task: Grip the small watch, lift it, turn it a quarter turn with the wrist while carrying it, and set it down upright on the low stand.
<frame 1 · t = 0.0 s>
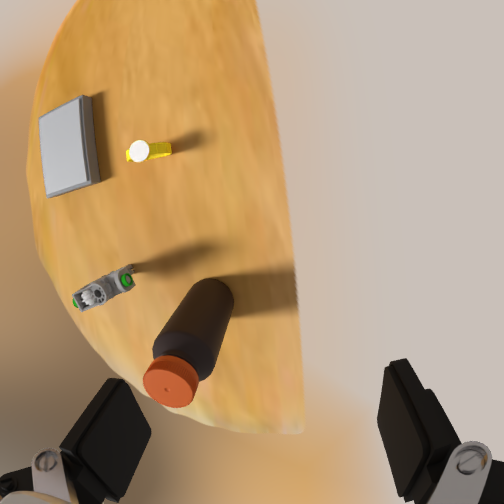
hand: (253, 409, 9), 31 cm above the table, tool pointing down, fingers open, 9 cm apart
mechanical component: (130, 268, 43), on the table
stand: (71, 147, 38), on the table
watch: (157, 153, 38), on the table
bottle: (211, 298, 43), on the table
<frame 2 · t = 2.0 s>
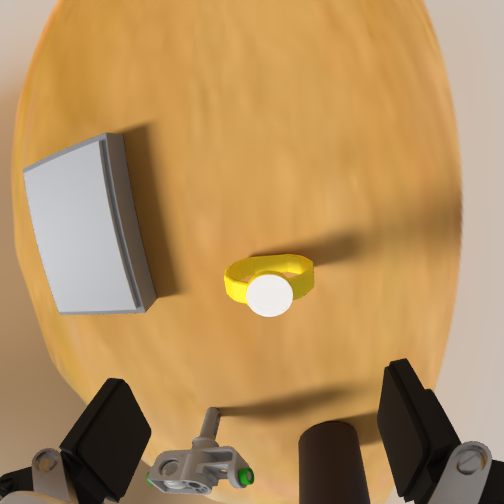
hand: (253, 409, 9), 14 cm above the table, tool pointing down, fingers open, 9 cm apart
mechanical component: (214, 411, 28), on the table
stand: (90, 228, 23), on the table
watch: (270, 262, 23), on the table
bottle: (327, 436, 28), on the table
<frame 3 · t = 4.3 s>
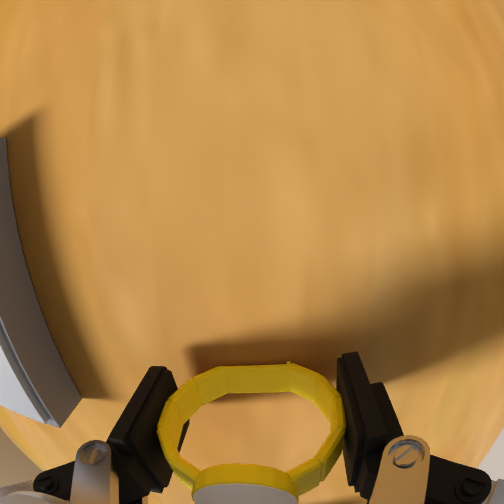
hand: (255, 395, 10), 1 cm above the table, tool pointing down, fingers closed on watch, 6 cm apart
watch: (257, 373, 11), on the table, touching gripper
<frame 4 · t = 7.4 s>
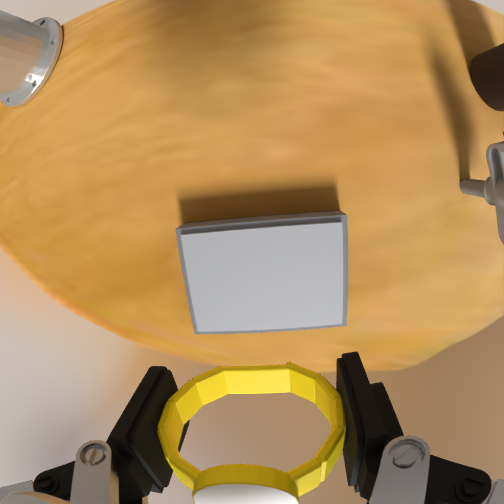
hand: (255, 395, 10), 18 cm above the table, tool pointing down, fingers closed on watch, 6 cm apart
mechanical component: (464, 186, 23), on the table
stand: (266, 270, 27), on the table
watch: (257, 374, 11), point 16 cm above the table, touching gripper
bottle: (489, 83, 20), on the table
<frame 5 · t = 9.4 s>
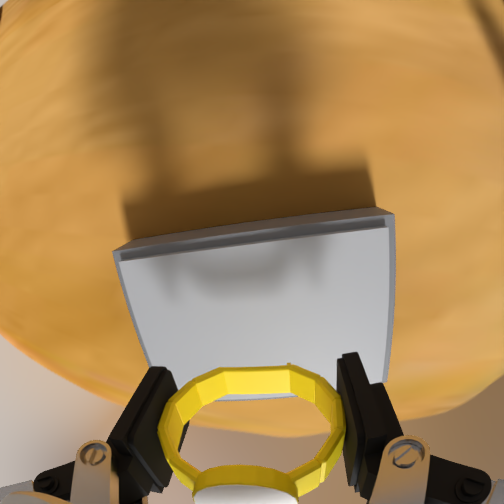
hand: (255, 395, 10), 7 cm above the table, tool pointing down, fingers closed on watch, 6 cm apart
stand: (262, 306, 17), on the table
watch: (257, 375, 11), point 6 cm above the table, touching gripper
when the fingers open (5 cm above the table, at t = 10.8 s): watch stays where it is, resting on stand.
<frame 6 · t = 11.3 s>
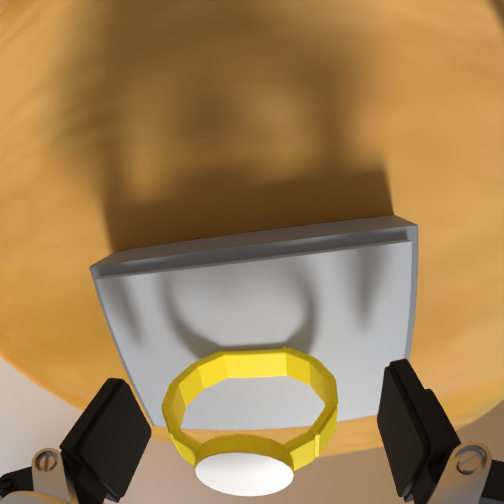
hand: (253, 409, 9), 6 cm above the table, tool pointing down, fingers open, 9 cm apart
stand: (262, 328, 15), on the table
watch: (256, 359, 12), point 3 cm above the table, touching stand
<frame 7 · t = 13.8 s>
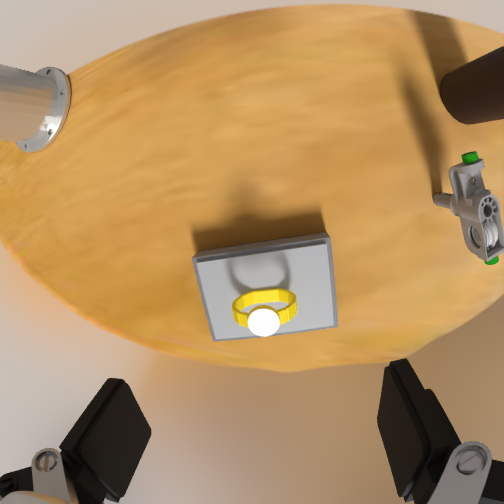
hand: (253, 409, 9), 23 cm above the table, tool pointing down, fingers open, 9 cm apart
mechanical component: (437, 198, 28), on the table
stand: (268, 285, 33), on the table
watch: (266, 294, 30), point 3 cm above the table, touching stand
bottle: (459, 98, 25), on the table
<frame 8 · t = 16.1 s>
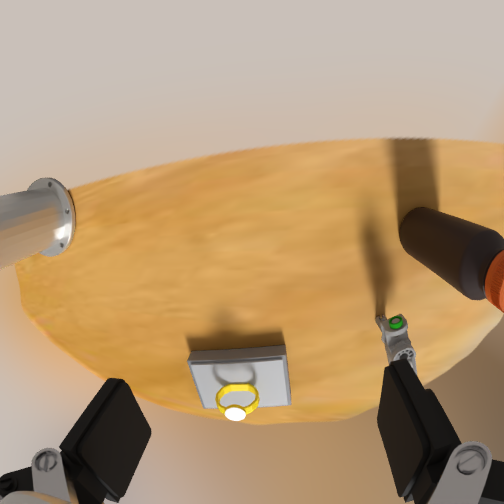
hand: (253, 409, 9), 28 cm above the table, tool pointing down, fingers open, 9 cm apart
mechanical component: (380, 318, 38), on the table
stand: (242, 374, 42), on the table
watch: (239, 385, 40), point 3 cm above the table, touching stand
bottle: (419, 231, 35), on the table
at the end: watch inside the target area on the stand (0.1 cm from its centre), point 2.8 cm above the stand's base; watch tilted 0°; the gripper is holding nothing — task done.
